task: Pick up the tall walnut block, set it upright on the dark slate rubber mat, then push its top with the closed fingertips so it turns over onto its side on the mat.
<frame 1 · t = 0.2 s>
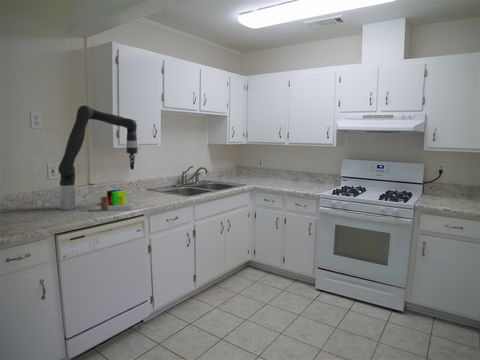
hand: (132, 168, 244), 29 cm above the worktop, fingers open, 8 cm apart
walnut block: (104, 210, 233), on the worktop
puzzle toy: (116, 203, 255), on the worktop
slate mat: (119, 208, 238), on the worktop
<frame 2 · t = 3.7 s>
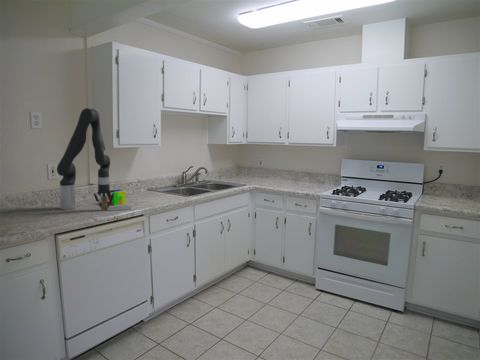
hand: (104, 207, 232), 2 cm above the worktop, fingers closed on walnut block, 4 cm apart
walnut block: (104, 210, 233), on the worktop, touching gripper
everything else where it was.
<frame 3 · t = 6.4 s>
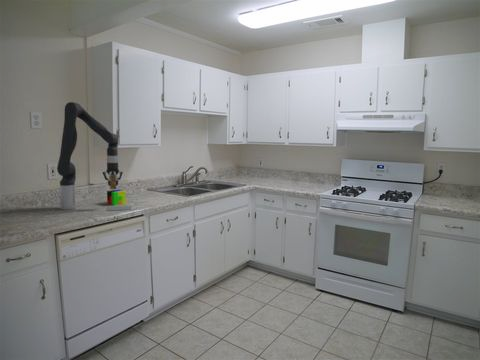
hand: (113, 185, 235), 17 cm above the worktop, fingers closed on walnut block, 4 cm apart
walnut block: (113, 188, 235), point 15 cm above the worktop, touching gripper
everything else where it was.
when the fingers open (4 cm above the worktop, at t = 9.0 s): walnut block stays where it is, resting on slate mat.
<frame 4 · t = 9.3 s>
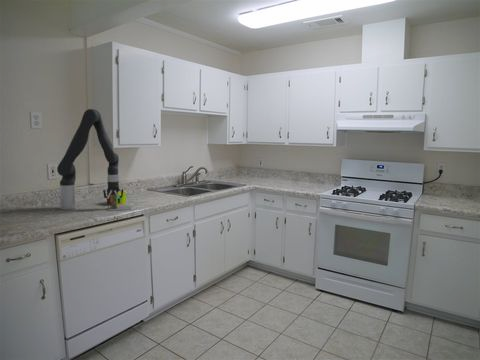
hand: (113, 203, 237), 4 cm above the worktop, fingers open, 6 cm apart
walnut block: (113, 208, 237), resting on slate mat
everything else where it was.
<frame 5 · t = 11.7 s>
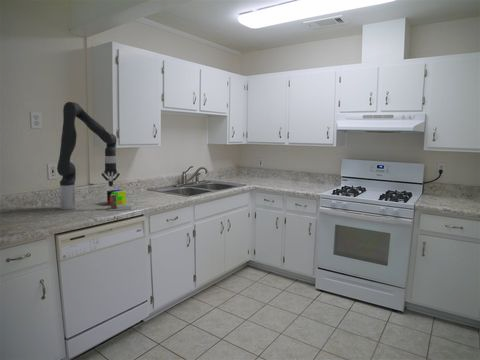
hand: (110, 186, 235), 17 cm above the worktop, fingers closed
nothing on the worktop moved.
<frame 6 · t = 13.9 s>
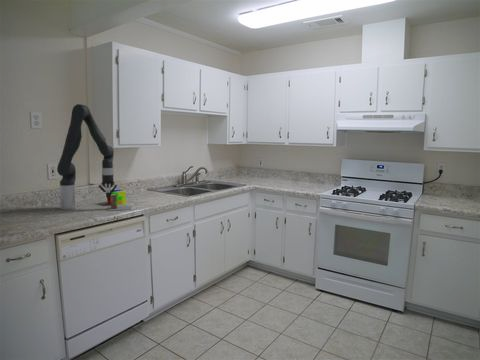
hand: (108, 197, 235), 8 cm above the worktop, fingers closed
walnut block: (113, 208, 237), resting on slate mat, touching gripper
everything else where it was.
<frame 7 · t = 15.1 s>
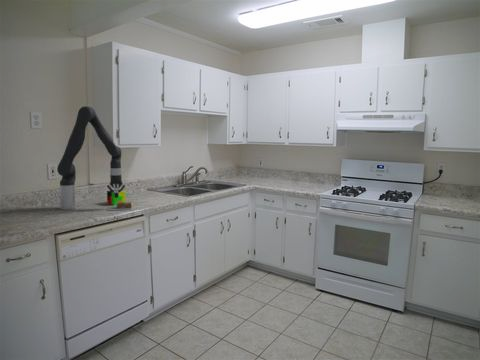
hand: (116, 197, 237), 8 cm above the worktop, fingers closed
walnut block: (116, 205, 237), point 2 cm above the worktop, tilted 90°, touching slate mat
everything else where it was.
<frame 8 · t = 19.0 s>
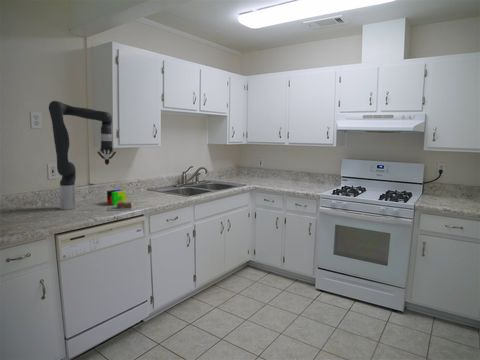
hand: (107, 164, 235), 32 cm above the worktop, fingers closed
nothing on the worktop moved.
at the end: walnut block tilted 90°; walnut block inside the target area (4.5 cm from its centre), point 2.4 cm above the worktop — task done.
